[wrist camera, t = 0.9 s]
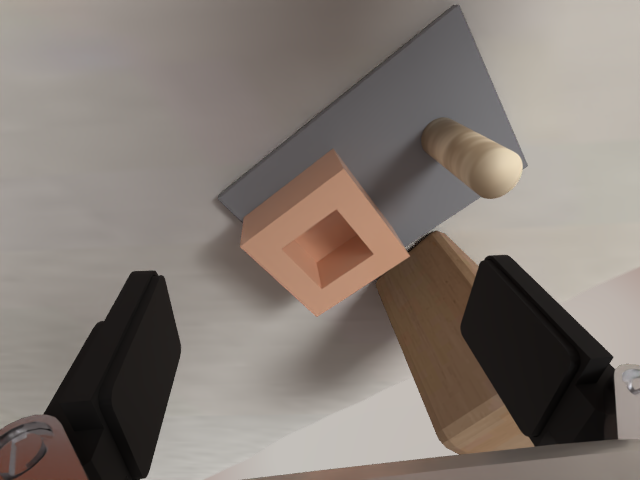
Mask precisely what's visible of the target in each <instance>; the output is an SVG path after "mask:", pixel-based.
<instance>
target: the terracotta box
mask: <svg viewBox="0 0 640 480" xmlns="http://www.w3.org/2000/svg"><path fill="white" fill-rule="evenodd" d="M240 247H241V248H242V249H243V250H244V251H245V252H246V253H247V254H248V255H249V256H251V257H252V258H253V259H254V260H255V261H256V262H257V263H258V264H259V265H260V266H262V267H263V268H264V269H265V270H266V271H267V272H268V273H269V274H270V275H271V276H272V277H274V278H275V279H276V280H277V281H278V282H279V283H280V284H281V285H282V286H283V287H284V288H286V289H287V290H288V291H289V292H290V293H291V294H292V295H293V296H294V297H295V298H296V299H298V300H299V301H300V302H301V303H302V304H303V305H304V306H305V307H306V308H307V309H308V310H310V311H311V312H312V313H313V314H314V315H315V316H316V317H318V316H319V315H321V314H322V313H324V312H325V311H327V310H328V309H330V308H331V307H333V306H335V305H336V304H338V303H339V302H341V301H342V300H344V299H345V298H347V297H348V296H350V295H351V294H353V293H355V292H356V291H358V290H359V289H361V288H362V287H364V286H365V285H367V284H368V283H370V282H371V281H373V280H375V279H376V278H378V277H379V276H381V275H382V274H384V273H385V272H387V271H388V270H390V269H391V268H393V267H395V266H396V265H398V264H399V263H401V262H402V261H404V260H405V259H407V258H408V257H410V255H409V254H408V252H407V250H406V249H405V247H404V245H403V244H402V242H401V240H400V239H399V237H398V236H397V234H396V232H395V231H394V229H393V227H392V226H391V225H390V223H389V222H388V221H387V219H386V218H385V217H384V215H383V214H382V213H381V211H380V210H379V209H378V207H377V206H376V205H375V203H374V202H373V201H372V199H371V198H370V197H369V195H368V194H367V193H366V191H365V190H364V189H363V187H362V186H361V185H360V183H359V182H358V181H357V179H356V178H355V177H354V175H353V174H352V173H351V171H350V170H349V169H348V167H347V166H346V165H345V163H344V162H343V161H342V159H341V158H340V157H339V155H338V154H337V153H336V151H335V150H334V149H332V150H330V151H329V152H328V153H326V154H325V155H324V156H323V157H321V158H320V159H319V160H317V161H316V162H315V163H313V164H312V165H311V166H310V167H308V168H307V169H306V170H304V171H303V172H302V173H301V174H299V175H298V176H297V177H295V178H294V179H293V180H291V181H290V182H289V183H288V184H286V185H285V186H284V187H282V188H281V189H280V190H279V191H277V192H276V193H275V194H273V195H272V196H271V197H269V198H268V199H267V200H266V201H264V202H263V203H262V204H260V205H259V206H258V207H257V208H255V209H254V210H253V211H251V212H250V213H249V214H247V215H246V216H245V217H244V219H243V227H242V234H241V242H240Z"/></svg>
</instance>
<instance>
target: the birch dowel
mask: <svg viewBox="0 0 640 480" xmlns="http://www.w3.org/2000/svg"><path fill="white" fill-rule="evenodd" d="M421 144H422V147H423V149H424V151H425V152H426V153H427V154H429V155H430V156H431V157H432V158H434V159H435V160H436V161H437V162H438V163H440V164H441V165H442V166H443V167H445V168H446V169H447V170H448V171H450V172H451V173H452V174H453V175H454V176H456V177H457V178H458V179H459V180H461V181H462V182H463V183H464V184H466V185H467V186H468V187H469V188H470V189H472V190H473V191H474V192H475V193H477V194H478V195H479V196H481V197H483V198H487V199H493V198H498V197H501V196H503V195H505V194H506V193H508V192H509V191H510V190H512V189H513V188H514V186H515V185H516V184H517V182H518V181H519V179H520V177H521V174H522V169H523V164H522V160H521V158H520V156H519V155H518V154H517V153H515V152H513V151H512V150H510V149H508V148H506V147H504V146H502V145H500V144H498V143H496V142H494V141H492V140H490V139H488V138H486V137H485V136H483V135H481V134H479V133H477V132H475V131H473V130H471V129H469V128H467V127H465V126H463V125H461V124H459V123H458V122H456V121H454V120H452V119H450V118H446V117H441V118H437V119H435V120H433V121H432V122H430V123H429V124H428V125H427V126H426V128H425V129H424V131H423V133H422V137H421Z"/></svg>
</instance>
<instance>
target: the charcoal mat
mask: <svg viewBox="0 0 640 480" xmlns="http://www.w3.org/2000/svg"><path fill="white" fill-rule="evenodd" d="M441 117H446V118H450V119H452V120H454V121H456V122H458V123H459V124H461V125H463V126H465V127H467V128H469V129H471V130H473V131H475V132H477V133H479V134H481V135H483V136H485V137H486V138H488V139H490V140H492V141H494V142H496V143H498V144H500V145H502V146H504V147H506V148H508V149H510V150H512V151H513V152H515V153H517V154H518V155H519V156H520V158H521V160H522V164H523V169H524V168H526V167H527V166H528V165H527V162H526V160H525V158H524V155H523V153H522V151H521V148H520V146H519V144H518V141H517V139H516V137H515V134H514V132H513V130H512V127H511V125H510V123H509V120H508V118H507V116H506V113H505V111H504V109H503V106H502V104H501V102H500V99H499V97H498V95H497V92H496V90H495V88H494V85H493V83H492V81H491V78H490V76H489V74H488V71H487V69H486V67H485V64H484V62H483V60H482V57H481V55H480V53H479V50H478V48H477V46H476V43H475V41H474V39H473V36H472V34H471V32H470V29H469V27H468V25H467V22H466V20H465V18H464V15H463V13H462V11H461V8H460V6H459V5H453V6H452V7H451V8H449V9H448V10H447V11H446V12H444V13H443V14H442V15H441V16H440V17H438V18H437V19H436V20H435V21H433V22H432V23H431V24H430V25H428V26H427V27H426V28H425V29H423V30H422V31H421V32H420V33H419V34H417V35H416V36H415V37H414V38H412V39H411V40H410V41H409V42H407V43H406V44H405V45H404V46H402V47H401V48H400V49H399V50H398V51H396V52H395V53H394V54H393V55H391V56H390V57H389V58H388V59H386V60H385V61H384V62H383V63H381V64H380V65H379V66H378V67H376V68H375V69H374V70H373V71H372V72H370V73H369V74H368V75H367V76H365V77H364V78H363V79H362V80H360V81H359V82H358V83H357V84H355V85H354V86H353V87H352V88H351V89H349V90H348V91H347V92H346V93H344V94H343V95H342V96H341V97H339V98H338V99H337V100H336V101H334V102H333V103H332V104H331V105H330V106H328V107H327V108H326V109H325V110H323V111H322V112H321V113H320V114H318V115H317V116H316V117H315V118H313V119H312V120H311V121H310V122H308V123H307V124H306V125H305V126H304V127H302V128H301V129H300V130H299V131H297V132H296V133H295V134H294V135H292V136H291V137H290V138H289V139H287V140H286V141H285V142H284V143H283V144H281V145H280V146H279V147H278V148H276V149H275V150H274V151H273V152H271V153H270V154H269V155H268V156H266V157H265V158H264V159H263V160H261V161H260V162H259V163H258V164H257V165H255V166H254V167H253V168H252V169H250V170H249V171H248V172H247V173H245V174H244V175H243V176H242V177H240V178H239V179H238V180H237V181H236V182H234V183H233V184H232V185H231V186H229V187H228V188H227V189H226V190H224V191H223V192H222V193H221V194H219V197H218V200H219V201H220V202H221V203H223V204H224V205H225V206H226V207H227V208H228V209H229V210H230V211H231V212H232V213H233V214H234V215H235V216H236V217H237V218H238V219H239V220H240V221H241V222H242V223H243V219H244V217H245V216H246V215H247V214H249V213H250V212H251V211H253V210H254V209H255V208H257V207H258V206H259V205H260V204H262V203H263V202H264V201H266V200H267V199H268V198H269V197H271V196H272V195H273V194H275V193H276V192H277V191H279V190H280V189H281V188H282V187H284V186H285V185H286V184H288V183H289V182H290V181H291V180H293V179H294V178H295V177H297V176H298V175H299V174H301V173H302V172H303V171H304V170H306V169H307V168H308V167H310V166H311V165H312V164H313V163H315V162H316V161H317V160H319V159H320V158H321V157H323V156H324V155H325V154H326V153H328V152H329V151H330V150H332V149H334V150H335V151H336V153H337V154H338V155H339V157H340V158H341V159H342V161H343V162H344V163H345V165H346V166H347V167H348V169H349V170H350V171H351V173H352V174H353V175H354V177H355V178H356V179H357V181H358V182H359V183H360V185H361V186H362V187H363V189H364V190H365V191H366V193H367V194H368V195H369V197H370V198H371V199H372V201H373V202H374V203H375V205H376V206H377V207H378V209H379V210H380V211H381V213H382V214H383V215H384V217H385V218H386V219H387V221H388V222H389V223H390V225H391V226H392V227H393V229H394V231H395V232H396V234H397V236H398V237H399V239H400V240H401V242H402V244H403V245H404V247H406V246H407V245H409V244H410V243H412V242H413V241H415V240H416V239H418V238H419V237H421V236H422V235H424V234H425V233H427V232H428V231H430V230H431V229H433V228H435V227H436V226H438V225H439V224H441V223H442V222H444V221H445V220H447V219H448V218H450V217H451V216H453V215H454V214H456V213H457V212H459V211H460V210H462V209H463V208H465V207H466V206H468V205H469V204H471V203H472V202H474V201H475V200H477V199H479V198H480V197H481V196H479V195H478V194H477V193H475V192H474V191H473V190H472V189H470V188H469V187H468V186H467V185H466V184H464V183H463V182H462V181H461V180H459V179H458V178H457V177H456V176H454V175H453V174H452V173H451V172H450V171H448V170H447V169H446V168H445V167H443V166H442V165H441V164H440V163H438V162H437V161H436V160H435V159H434V158H432V157H431V156H430V155H429V154H427V153H426V152H425V151H424V149H423V147H422V144H421V137H422V133H423V131H424V129H425V128H426V126H427V125H428V124H429V123H430V122H432V121H433V120H435V119H437V118H441ZM523 169H522V170H523Z"/></svg>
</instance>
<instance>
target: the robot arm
mask: <svg viewBox="0 0 640 480" xmlns="http://www.w3.org/2000/svg"><path fill="white" fill-rule="evenodd" d="M460 330H461V334H462V336H463V338H464V340H465V341H466V343H467V345H468V346H469V348H470V350H471V351H472V353H473V354H474V356H475V358H476V359H477V361H478V363H479V364H480V366H481V367H482V369H483V371H484V372H485V374H486V376H487V377H488V379H489V380H490V382H491V384H492V385H493V387H494V389H495V390H496V392H497V393H498V395H499V397H500V398H501V400H502V402H503V403H504V405H505V406H506V408H507V410H508V411H509V413H510V415H511V416H512V418H513V419H514V421H515V423H516V424H517V426H518V428H519V429H520V431H521V432H522V433H523V434H524V435H525V436H527V437H529V438H530V440H531V441H532V443H533V445H534V446H535V447H527V448H518V449H508V450H499V451H490V452H480V453H471V454H462V455H453V456H444V457H435V458H426V459H417V460H408V461H399V462H390V463H381V464H372V465H364V466H355V467H346V468H338V469H329V470H320V471H311V472H303V473H294V474H286V475H277V476H269V477H260V478H253V479H244V480H640V365H634V364H624V365H620V366H618V367H617V368H616V369H614V368H613V367H612V366H611V365H610V364H609V363H610V362H611V360H612V359H613V356H612V355H611V354H610V353H609V352H608V351H607V350H605V348H604V347H603V346H602V345H601V344H600V343H599V342H598V341H597V340H596V339H595V338H593V337H592V336H591V335H590V334H589V333H588V332H587V331H586V330H585V329H584V328H583V327H582V326H581V325H580V324H579V323H578V322H577V321H576V320H575V319H574V318H573V317H572V316H571V315H570V314H569V313H568V312H567V311H566V310H565V309H563V307H562V306H561V305H559V304H558V303H557V302H556V301H555V300H554V299H553V298H552V297H551V296H550V295H549V294H548V293H547V292H546V291H545V290H544V289H543V288H542V287H541V286H540V285H539V284H538V283H537V282H536V281H535V280H534V279H533V278H532V277H531V276H530V275H529V274H528V273H526V272H525V271H524V270H523V269H522V268H521V267H520V266H519V265H518V264H517V263H516V262H515V261H514V260H513V259H512V258H511V257H510V256H508V255H493V256H487V257H486V258H485V260H484V261H481V262H480V264H479V267H478V270H477V273H476V277H475V280H474V283H473V286H472V289H471V293H470V296H469V299H468V302H467V305H466V309H465V312H464V315H463V318H462V321H461V325H460ZM180 354H181V344H180V340H179V335H178V331H177V327H176V323H175V319H174V315H173V310H172V306H171V302H170V298H169V294H168V290H167V285H166V281H165V278H164V276H162V275H160V276H158V274H157V272H156V271H134V272H132V273H131V274H130V276H129V278H128V279H127V281H126V283H125V285H124V287H123V288H122V290H121V292H120V294H119V296H118V297H117V299H116V301H115V303H114V305H113V306H112V308H111V310H110V312H109V314H108V315H107V317H106V319H105V321H100V322H99V323H97V324H96V325H95V327H94V328H93V330H92V331H91V333H90V335H89V337H88V338H87V340H86V342H85V343H84V345H83V347H82V349H81V350H80V352H79V354H78V356H77V357H76V359H75V361H74V362H73V364H72V366H71V368H70V369H69V371H68V373H67V375H66V376H65V378H64V380H63V381H62V383H61V385H60V387H59V388H58V390H57V392H56V394H55V395H54V397H53V399H52V400H51V402H50V404H49V406H48V407H47V409H46V411H45V413H44V414H43V415H33V416H29V417H25V418H21V419H19V420H17V421H15V422H13V423H10V424H8V425H7V426H5V427H4V428H2V429H1V430H0V480H140V479H142V478H146V477H147V475H148V473H149V470H150V466H151V463H152V459H153V455H154V452H155V448H156V444H157V440H158V437H159V433H160V429H161V426H162V422H163V418H164V414H165V411H166V407H167V403H168V400H169V396H170V392H171V388H172V385H173V381H174V377H175V374H176V370H177V366H178V362H179V359H180Z"/></svg>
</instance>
